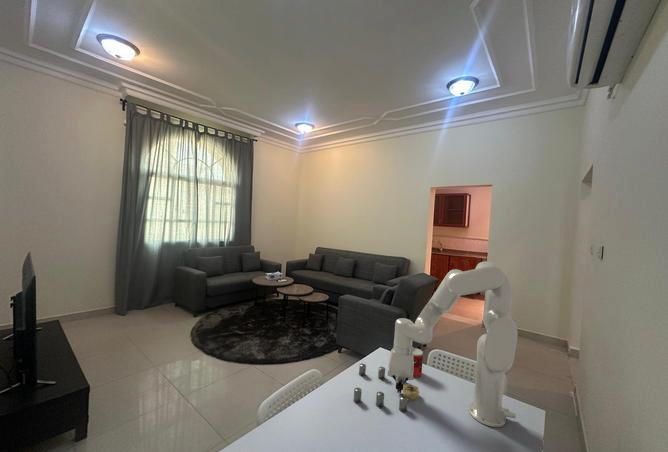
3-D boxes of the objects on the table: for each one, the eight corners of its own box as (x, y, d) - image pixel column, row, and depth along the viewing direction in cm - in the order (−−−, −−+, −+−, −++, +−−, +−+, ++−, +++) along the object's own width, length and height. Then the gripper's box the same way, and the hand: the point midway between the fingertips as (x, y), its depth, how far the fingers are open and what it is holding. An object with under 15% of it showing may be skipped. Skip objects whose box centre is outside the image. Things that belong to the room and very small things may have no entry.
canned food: (401, 369, 140) (403, 348, 139) (415, 368, 142) (417, 346, 142) (410, 378, 132) (411, 355, 132) (424, 376, 135) (426, 354, 134)
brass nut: (413, 390, 123) (413, 383, 123) (421, 398, 118) (422, 391, 117) (399, 392, 121) (400, 385, 121) (407, 401, 115) (408, 393, 115)
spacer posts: (404, 380, 131) (404, 370, 130) (407, 412, 108) (407, 401, 108) (359, 372, 135) (360, 363, 135) (353, 402, 112) (353, 391, 112)
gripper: (419, 347, 122) (416, 389, 122) (384, 342, 124) (381, 382, 125) (421, 355, 114) (418, 399, 115) (384, 349, 117) (381, 392, 118)
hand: (399, 390), depth 120 cm, fingers closed
